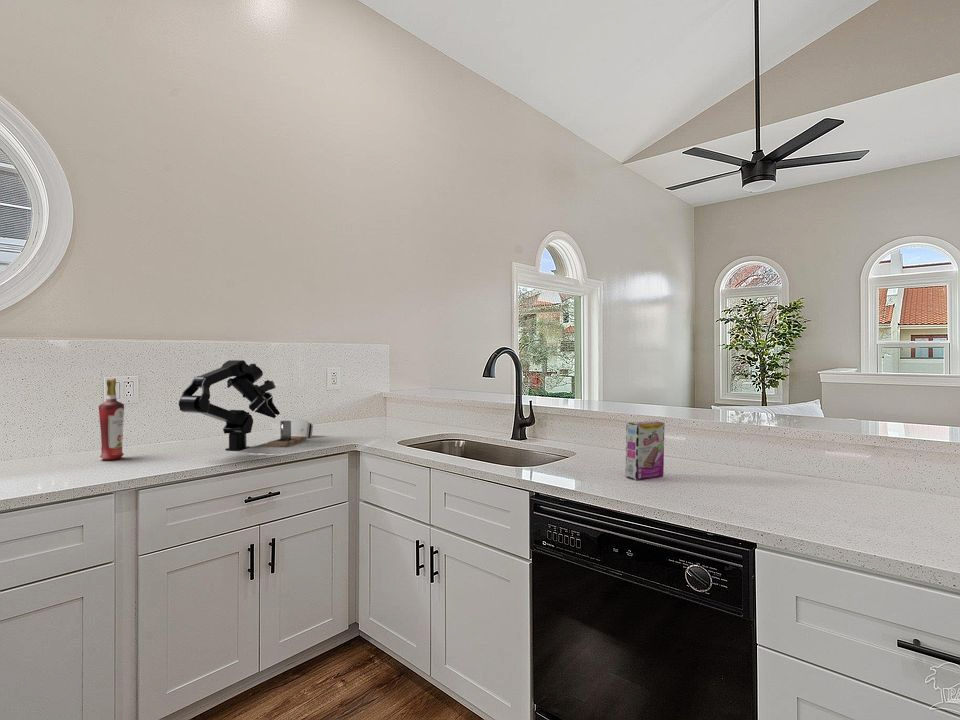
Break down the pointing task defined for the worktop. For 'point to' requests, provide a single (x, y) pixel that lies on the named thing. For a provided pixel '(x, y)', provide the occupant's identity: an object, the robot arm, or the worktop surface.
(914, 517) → the worktop surface
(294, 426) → the white game console
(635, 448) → the candy bar box
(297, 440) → the brown slotted block
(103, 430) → the liquor
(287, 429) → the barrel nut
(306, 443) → the pale green square plate
